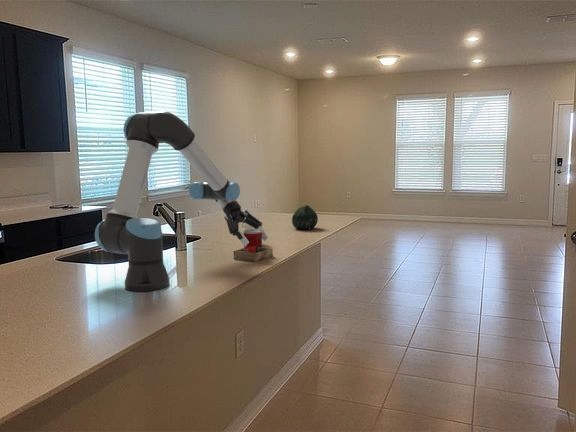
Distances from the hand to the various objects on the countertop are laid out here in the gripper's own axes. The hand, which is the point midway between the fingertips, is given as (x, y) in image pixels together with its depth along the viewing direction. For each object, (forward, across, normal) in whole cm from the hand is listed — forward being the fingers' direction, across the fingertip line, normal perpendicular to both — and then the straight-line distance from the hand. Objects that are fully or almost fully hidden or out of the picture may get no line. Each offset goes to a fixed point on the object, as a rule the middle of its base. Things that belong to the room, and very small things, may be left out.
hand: (257, 241), depth 214 cm
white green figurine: (-12, +26, +22) cm, 36 cm away
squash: (-12, +77, +23) cm, 81 cm away
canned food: (+3, 0, +6) cm, 7 cm away
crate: (+3, 0, +7) cm, 8 cm away
